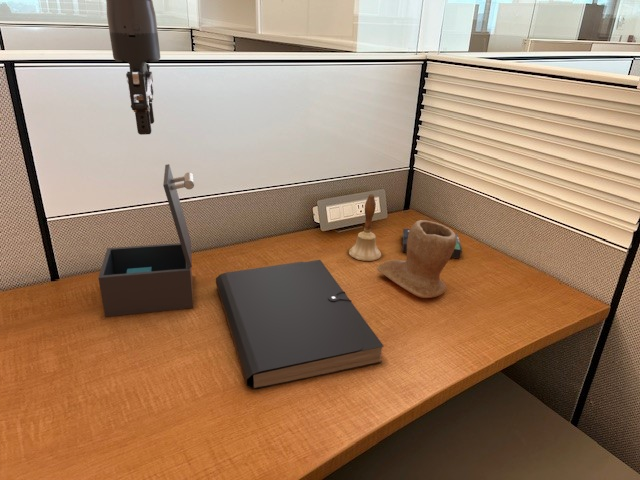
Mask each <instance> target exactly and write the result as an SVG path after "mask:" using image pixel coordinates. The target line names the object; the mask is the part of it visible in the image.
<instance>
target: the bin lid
mask: <svg viewBox="0 0 640 480" xmlns="http://www.w3.org/2000/svg"><path fill="white" fill-rule="evenodd" d="M163 174H164V175H163V184H162V186H163V189H164V192H165V196H166V199H167V202H168V203H167V204H168V207H169V209H170V213H171V216H172V219H173V223H174V226H175V229H176V233H177V236H178V239H179V243H181V247H182V250H183V253H184V257H185V260H186V263H187V267H188V268H191V269H192V268H193V259H192V239H191V236H190V235H191V234H190V232H189V229H188V225H187V221H186V217H185V214H184V211H183V207H182V203H181V201H180V200H181V199H180V197H179V193H178V189H183V188H185V189H186V190H193V188H194V187H195V180H194V178H195V177H194V174H193V173H192V172H185V173H184V175H182V176H179V177H174V176H173V172H172V168H171V165H170V164H165V165H164V173H163Z"/></svg>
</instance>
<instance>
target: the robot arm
mask: <svg viewBox="0 0 640 480" xmlns="http://www.w3.org/2000/svg"><path fill="white" fill-rule="evenodd" d="M105 2H106V4H105V5H106V19H107V25H108V26H107V27H108V32H109V33H108V34H109V39H110V45H111V51H112V57H113V60H114V61H115V62H120V63H127V64H128V66H129V71H126V73H125V77H126V78H125V79H126V83H127V86H128V96H129V99H130V109H131V110H132V111H133V113H134V114H135V115H134V116H135V122H136V130H137V133H138V135H151V134H152V131H153V129H152V124H154V123H155V115H154V107H153V101H154V84H153V82H154V80H153V79H154V77H153V71H150V70H151V67H150V64H149V63H154V62H158V61H160V59H161V51H160V41H159V33H158V24H157V16H156V10H155V8H154V7H155V6H154V2H153V0H105Z"/></svg>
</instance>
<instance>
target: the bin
mask: <svg viewBox="0 0 640 480" xmlns="http://www.w3.org/2000/svg"><path fill="white" fill-rule="evenodd" d="M144 267H152V271H151V272H138V273H127V269H132V268H144ZM97 279H98V285H99V289H100V290H99V291H100V295H101V296H100V297H101V302H102V307H103V312H104V317H106V318H107V317H108V318H109V317H118V316H119V317H120V316H129V315H137V314H138V315H139V314H147V313H155V312H157V313H158V312H165V311H166V312H168V311H176V310H186V309H187V310H188V309H193V308H194V292H193V291H194V289H193V287H194V286H193V272H192V267H191V268H188V267H187V263H186V260H185V257H184V253H183V250H182V247H181V243H180V242H176V243H164V244H163V243H162V244H149V245H147V244H146V245H134V246H119V247H107V248H106V251H105V254H104V257H103V261H102V264H101V268H100V271H99V274H98V277H97Z"/></svg>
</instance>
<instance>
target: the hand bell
mask: <svg viewBox="0 0 640 480" xmlns="http://www.w3.org/2000/svg"><path fill="white" fill-rule="evenodd" d="M364 204H365V205H364V215H365V221H364V227H363V231H360V232H359V233H358V234H357V237H356V241H355V243H354V245H353V246H351V247H350V248H349V250H348V254H349V256H350V257H352V258H353V259H355V260H359V261H362V262H373V261H377V260H380V259H381V257H382V252H381V251H380V249H379V248H378V245H377V241H376V239H377V238H376V237H377V236H376V234H375V233H374V232H372V222H373V221H372V220H373V217H374V215H375V212H376V206H377V205H376V204H377V203H376V199H375V195H374V194H368V196H367V199H366V201H365V203H364Z"/></svg>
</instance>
